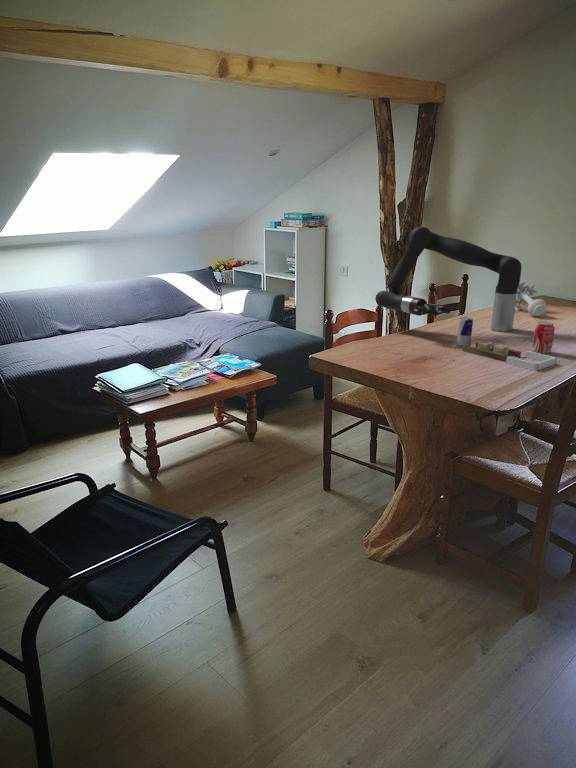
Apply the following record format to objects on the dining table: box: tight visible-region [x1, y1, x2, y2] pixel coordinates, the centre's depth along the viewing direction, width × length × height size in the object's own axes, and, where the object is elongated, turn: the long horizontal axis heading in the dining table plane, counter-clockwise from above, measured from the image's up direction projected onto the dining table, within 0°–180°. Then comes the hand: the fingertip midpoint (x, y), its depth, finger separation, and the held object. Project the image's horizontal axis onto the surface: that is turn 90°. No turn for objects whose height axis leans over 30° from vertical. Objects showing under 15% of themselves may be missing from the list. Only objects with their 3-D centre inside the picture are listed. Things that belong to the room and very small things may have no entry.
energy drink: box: [456, 316, 474, 349], centre depth 231 cm, size 5×5×12 cm
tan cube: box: [478, 340, 494, 352], centre depth 225 cm, size 4×4×4 cm
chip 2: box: [492, 344, 510, 356], centre depth 220 cm, size 4×4×4 cm
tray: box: [505, 350, 558, 372], centre depth 210 cm, size 14×12×2 cm
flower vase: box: [515, 278, 547, 317], centre depth 295 cm, size 13×18×25 cm
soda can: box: [532, 320, 555, 355], centre depth 224 cm, size 7×7×12 cm
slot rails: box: [461, 341, 522, 362], centre depth 223 cm, size 11×19×2 cm, turn 38°
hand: (443, 312), depth 237 cm, fingers open, 8 cm apart
